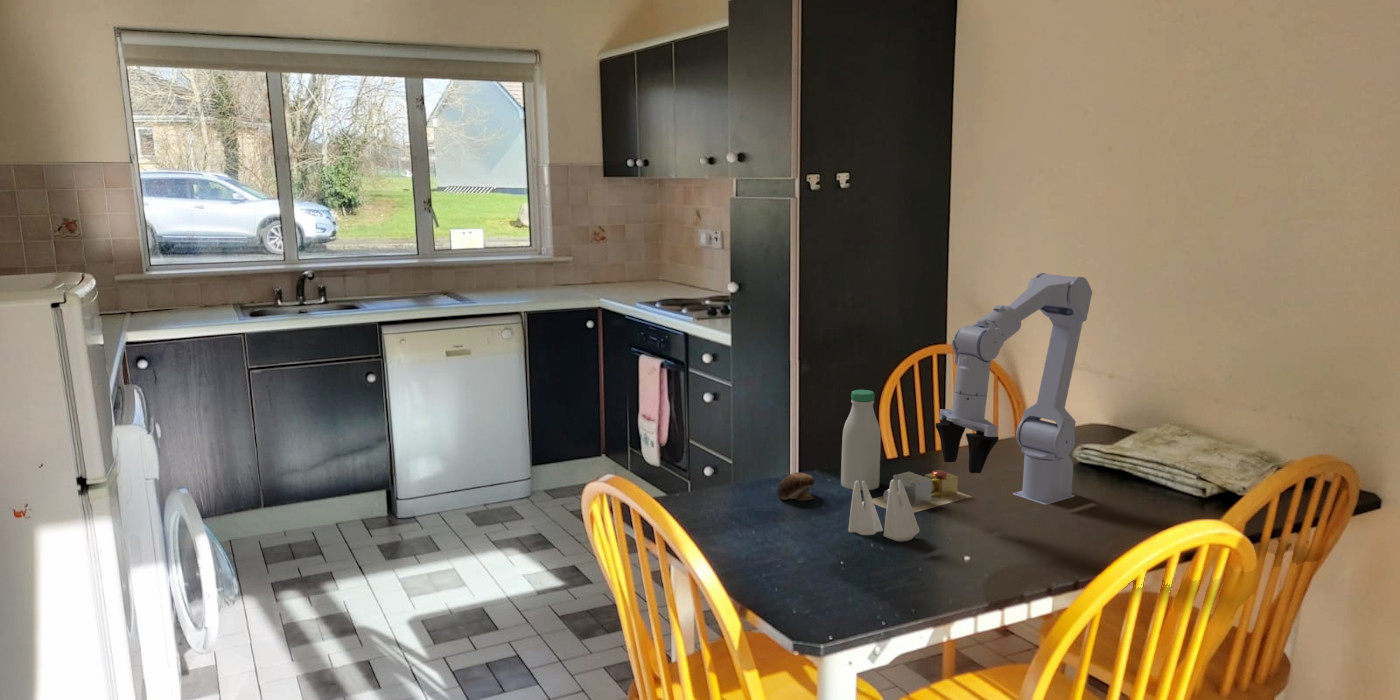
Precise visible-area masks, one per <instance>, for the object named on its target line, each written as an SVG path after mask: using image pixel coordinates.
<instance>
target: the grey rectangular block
mask: <svg viewBox="0 0 1400 700" xmlns="http://www.w3.org/2000/svg"><path fill="white" fill-rule="evenodd" d="M892 480H895V483H896V489H897V492H899V487H898V480H901V481H902V483H903V485H904V488H905V490H906V493H907V496H908V499H909V501H910V504H911V506H914V507H917V506H921V505H925V504H928V503H931V489H932V479H929V478H926V477H925V476H922V475H920V474H917V473H914V472H911V471H906V472H901V473H896V474H893V475H892ZM888 493H889V488H888V489H886V490H884V492H883V495H882V496H883V498H884V501H885V502H886V504H887V501H888Z"/></svg>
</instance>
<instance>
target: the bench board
mask: <svg viewBox="0 0 1400 700" xmlns="http://www.w3.org/2000/svg"><path fill="white" fill-rule="evenodd" d="M972 497H973V496H971V495H969V494H966V493H963V492H961V491H957V494H955V495H952V496H948V497H944V498H939V497H937V496H934V495H931V503H928V504H925V505H921V506H917V507H914V506H911V507H912V510H913V513H914V514H915V513H918V512H921V511H926V510H929V509H932V508H936V507H941V506H943V505H948V504H952V503H954V502H959V501H962V500H966V499H970V498H972ZM872 500H873V503H874V506H875V505H876V506H878V507H880V508H883V509H886V508H887V504H886V502H885V501H884V498H883V495H881V496H878V497H874V498H872Z"/></svg>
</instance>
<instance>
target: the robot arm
mask: <svg viewBox="0 0 1400 700" xmlns="http://www.w3.org/2000/svg"><path fill="white" fill-rule="evenodd" d="M1092 295H1093V289H1092V287H1091V285H1090V283H1089V281H1088V280H1087V278H1086V277H1083V276H1070V275H1069V276H1068V275H1057V274H1050V273H1049V274H1048V273H1044V272H1039V273H1037V274H1036V275H1035V276H1034V277H1032V278H1030V280H1029V281H1028V286H1027V289H1025V290H1024V291H1023V292H1022V294H1020V295H1019V296H1018V297H1017V298H1015V299H1014V300H1013V301H1012V302H1011V304H1009V305H1006V304H1003V305H1002V304H1001V305H1000V304H998V305H995V306H994V307H993V308H992V309H993V310H992V311H990V312H989V313H987V314H986V315H985V316H983V317H982V318H979V319H978V320H977V322H975V323H973V325H967V324H965V325H964V326H962V327H960V328H959V329H958V330H957V331H956V333H955V334H954V339H952V341H951V342H952V343H951V345H952V350H953V353H954V363H955V366H956V372H955V373H956V374H955V382H954V393H953V400H952V407H951V408H952V409H950V408H947V409H946V408H944V409H943V408H941V409H939V416H938V419H939V420H941V422H936V423H935V428H936V430H937V433H938V436H939V438H940V443H941V447H942V457H943V461H944V463H956V462H957V459H958V456H959V455H958V454H959V449H960V443H961V440H962V438H963V435H964V433H965V431H966V429H968V430H971V431H973V432H975V433H972V432H970V433H968V432H966V433H965V436H966V437H965V438H966V440H967V445H968V455H969V456H968V472H969V473H970V474H981V473H982V472H983V468H984V467H985V464H986V461H987V459H988V456H989V454H990V453H991V451H992V449H993V448H994V446H995V445H996V444H997V443H998V442H999V436H997V435H998V427H999V426H998V425H997V424H994V423H992V422H990V421H989V420H987V419H986V417H985V416H986V409H987V408H986V407H987V398H988V390H989V384H990V383H989V382H990V372H991V364H992V361H993V360H995V359H996V358H997V356H999V353H1000V350H1001V348H1002V347H1003V346H1004V344H1005V342H1006V341H1007V340H1008V339H1010V338H1011V337H1012V336H1014V335H1015V334H1017V332H1019V331H1020V329H1021V327H1022V321H1024V320H1025V319H1027V318H1028V317H1030V316H1031V315H1033V314H1034V313H1036V312H1037V311H1039V310H1040V311H1041V313H1042V314H1043V315H1044V316H1046V317H1047V318H1048V319H1049V320H1050V322H1051V324H1052V328H1051V333H1050V338H1049V343H1048V348H1047V353H1046V356H1045V360H1044V361H1045V362H1044V366H1043V371H1042V376H1041V381H1040V386H1039V389H1038V390H1039V391H1038V395H1037V400H1036V403H1034V404H1033V405H1031V406H1029V407H1027V408H1026V409H1024V410H1023V415H1022V417H1021V419H1020V422H1019V424H1018V425H1017V429H1016V432H1015V436H1016V441H1017V444H1018V446H1019V447H1021V453H1023V454H1024V458H1023V459H1024V460H1023V472H1022V473H1023V474H1022V475H1023V476H1022V489H1021V490H1019V491H1016V492H1013V493H1012V494H1013V495H1014V496H1018V497H1020V498H1024V499H1026V500H1029V501H1033V502H1035V503H1039V504H1042V505H1045V506H1047V505H1051V504H1054V503H1056V502H1060V501H1065V500H1067V499H1068V500H1069V499H1070V498H1071V499H1072V498H1074V497H1076V495H1075V494H1073V493H1072V491H1073V488H1072V487H1073V475H1074V464H1073V461H1072V458H1071V457H1070V456H1069V455H1070V453H1071V452H1072V451H1073V450H1074V447H1075V443H1076V435H1075V430H1076V429H1075V428H1076V420H1075V419H1074V417H1073V416H1072V415H1071V414H1070V413H1069V412H1068V410H1067V409H1066V403H1067V400H1068V399H1067V398H1068V394H1069V388H1070V384H1071V379H1072V374H1073V371H1074V365H1075V361H1076V357H1077V351H1078V347H1079V343H1080V337H1081V331H1082V328H1083V323H1084V322H1086V321H1087V319H1088V315H1089V310H1090V304H1091V302H1092V297H1093V296H1092ZM1042 419H1044V420H1042ZM1045 420H1049V421H1045ZM1051 421H1053V422H1051Z"/></svg>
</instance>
